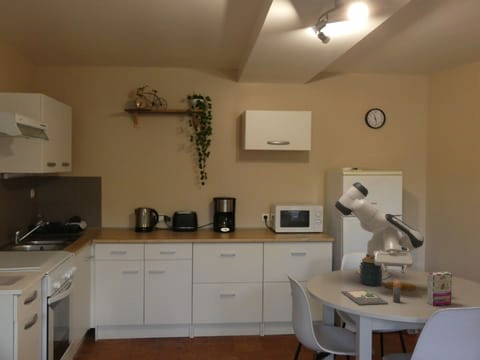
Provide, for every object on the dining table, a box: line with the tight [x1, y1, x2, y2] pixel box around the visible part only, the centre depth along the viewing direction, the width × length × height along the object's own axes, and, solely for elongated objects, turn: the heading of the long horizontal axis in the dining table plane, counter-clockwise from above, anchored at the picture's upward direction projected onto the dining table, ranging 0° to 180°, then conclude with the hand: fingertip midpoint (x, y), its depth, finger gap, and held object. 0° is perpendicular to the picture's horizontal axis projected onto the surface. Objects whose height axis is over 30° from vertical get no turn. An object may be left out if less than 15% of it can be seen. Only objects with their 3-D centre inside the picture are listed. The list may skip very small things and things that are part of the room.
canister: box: [359, 255, 383, 287], centre depth 262 cm, size 13×13×18 cm
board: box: [340, 289, 389, 307], centre depth 233 cm, size 22×16×3 cm
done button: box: [366, 290, 374, 297], centre depth 226 cm, size 4×4×3 cm
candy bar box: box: [426, 270, 453, 307], centre depth 225 cm, size 11×5×16 cm, turn 105°
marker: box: [392, 279, 402, 304], centre depth 227 cm, size 4×4×11 cm
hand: (394, 272), depth 236 cm, fingers open, 8 cm apart
